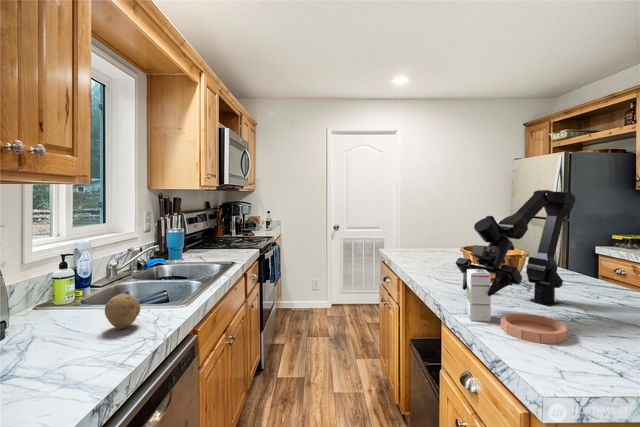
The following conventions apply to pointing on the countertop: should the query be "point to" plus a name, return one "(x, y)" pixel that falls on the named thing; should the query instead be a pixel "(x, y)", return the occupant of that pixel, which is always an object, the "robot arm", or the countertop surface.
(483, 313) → the syrup box
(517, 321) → the terracotta dish
